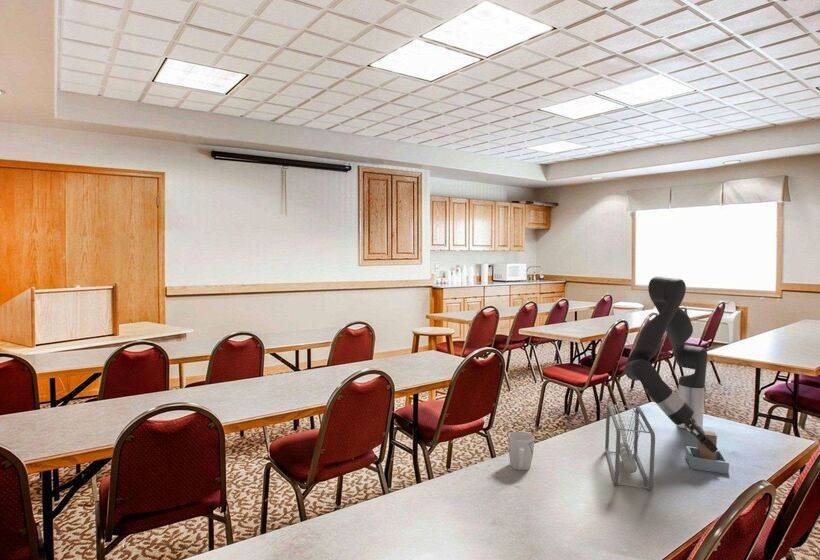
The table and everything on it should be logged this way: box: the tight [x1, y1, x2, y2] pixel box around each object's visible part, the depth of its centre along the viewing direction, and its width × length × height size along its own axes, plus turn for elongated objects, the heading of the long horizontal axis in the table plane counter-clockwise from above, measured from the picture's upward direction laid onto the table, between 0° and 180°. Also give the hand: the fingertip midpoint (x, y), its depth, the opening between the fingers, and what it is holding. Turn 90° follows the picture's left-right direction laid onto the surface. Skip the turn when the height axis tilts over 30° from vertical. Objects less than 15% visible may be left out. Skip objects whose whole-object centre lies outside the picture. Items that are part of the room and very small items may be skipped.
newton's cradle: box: [604, 402, 656, 492], centre depth 158 cm, size 30×10×18 cm, turn 163°
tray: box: [685, 445, 730, 475], centre depth 164 cm, size 11×11×4 cm
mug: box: [507, 431, 535, 471], centre depth 158 cm, size 11×8×10 cm
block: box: [697, 429, 718, 460], centre depth 163 cm, size 4×4×9 cm
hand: (713, 447), depth 163 cm, fingers closed on block, 4 cm apart
